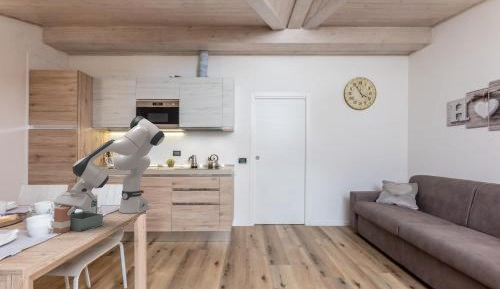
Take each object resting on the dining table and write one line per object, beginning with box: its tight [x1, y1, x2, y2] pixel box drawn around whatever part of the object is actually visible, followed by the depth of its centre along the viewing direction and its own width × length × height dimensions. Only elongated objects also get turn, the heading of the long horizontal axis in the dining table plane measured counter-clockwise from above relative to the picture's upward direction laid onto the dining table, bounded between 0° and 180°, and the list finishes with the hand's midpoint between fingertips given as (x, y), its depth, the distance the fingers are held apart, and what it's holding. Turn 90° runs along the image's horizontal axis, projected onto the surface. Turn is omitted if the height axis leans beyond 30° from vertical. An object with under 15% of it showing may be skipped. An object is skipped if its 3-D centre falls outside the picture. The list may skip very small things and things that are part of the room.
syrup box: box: [81, 193, 99, 213], centre depth 172 cm, size 6×6×14 cm
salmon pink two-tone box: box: [52, 207, 71, 234], centre depth 145 cm, size 5×5×12 cm
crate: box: [70, 211, 104, 232], centre depth 156 cm, size 14×14×6 cm
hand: (62, 214), depth 145 cm, fingers closed on salmon pink two-tone box, 5 cm apart
